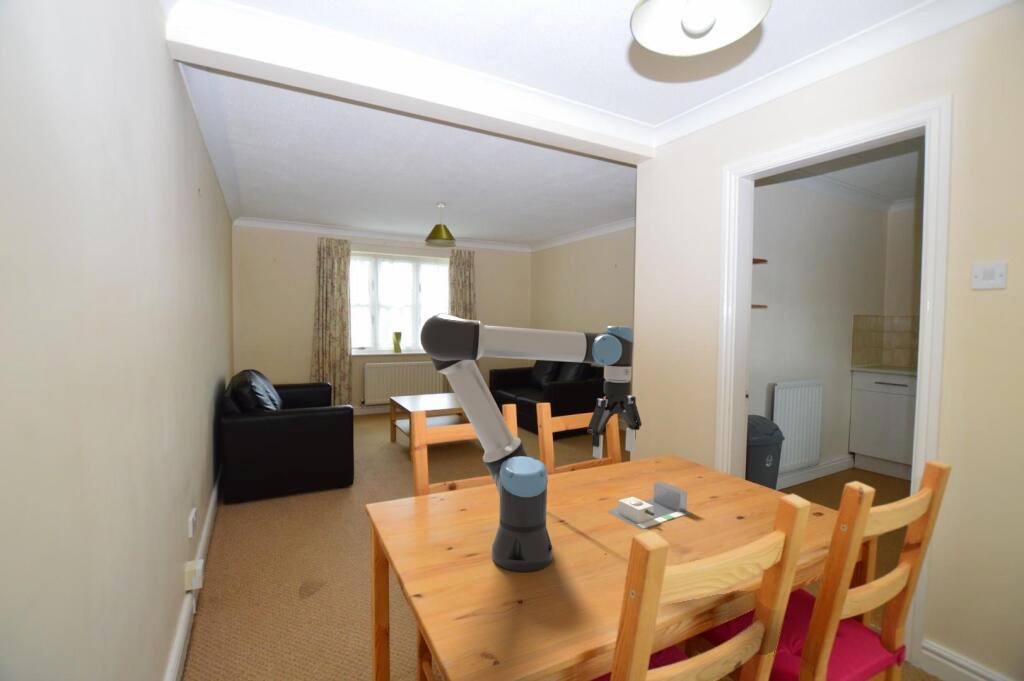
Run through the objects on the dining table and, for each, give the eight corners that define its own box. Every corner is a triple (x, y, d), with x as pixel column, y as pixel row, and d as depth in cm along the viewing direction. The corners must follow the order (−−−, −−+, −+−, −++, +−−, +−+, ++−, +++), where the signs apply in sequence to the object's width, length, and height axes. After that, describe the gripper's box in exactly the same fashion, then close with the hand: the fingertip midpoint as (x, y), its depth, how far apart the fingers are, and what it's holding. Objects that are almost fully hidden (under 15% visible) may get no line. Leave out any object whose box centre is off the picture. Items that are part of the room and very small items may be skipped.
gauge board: (641, 533, 129) (641, 528, 129) (606, 515, 141) (606, 510, 141) (692, 516, 141) (692, 511, 140) (655, 500, 152) (655, 496, 152)
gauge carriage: (645, 527, 130) (646, 512, 130) (618, 513, 139) (618, 499, 139) (660, 522, 133) (660, 508, 133) (632, 509, 142) (632, 495, 142)
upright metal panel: (679, 512, 140) (680, 493, 140) (653, 501, 149) (654, 482, 149) (686, 510, 142) (687, 491, 142) (660, 499, 151) (660, 481, 150)
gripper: (596, 384, 122) (592, 464, 123) (656, 380, 136) (652, 451, 137) (576, 381, 128) (572, 457, 129) (635, 376, 142) (632, 445, 143)
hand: (614, 454), depth 133 cm, fingers open, 13 cm apart
